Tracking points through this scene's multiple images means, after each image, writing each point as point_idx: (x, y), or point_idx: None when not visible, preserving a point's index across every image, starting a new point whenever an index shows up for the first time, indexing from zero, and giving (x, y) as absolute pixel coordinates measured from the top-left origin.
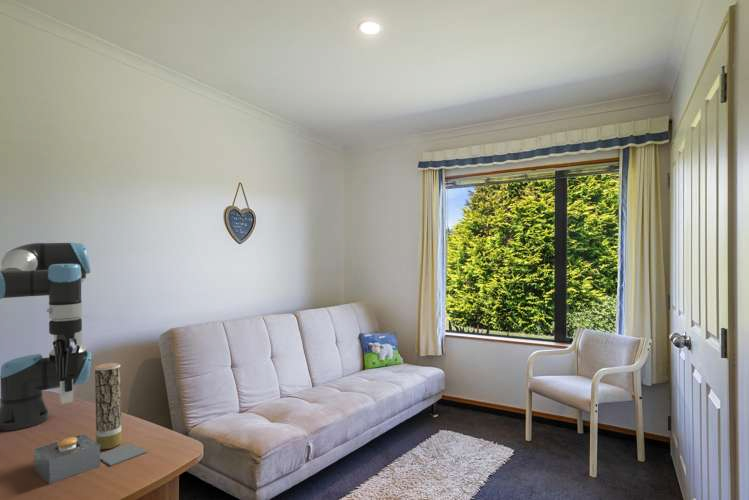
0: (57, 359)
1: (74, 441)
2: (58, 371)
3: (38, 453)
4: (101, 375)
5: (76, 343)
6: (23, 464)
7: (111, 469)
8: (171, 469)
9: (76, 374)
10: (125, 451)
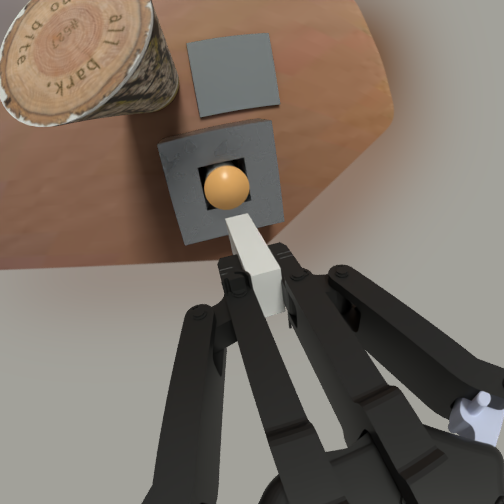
0: (221, 426)
1: (244, 174)
2: (224, 357)
3: (213, 237)
4: (135, 84)
5: (447, 460)
6: (136, 241)
7: (294, 107)
8: (372, 44)
9: (361, 274)
10: (230, 63)
